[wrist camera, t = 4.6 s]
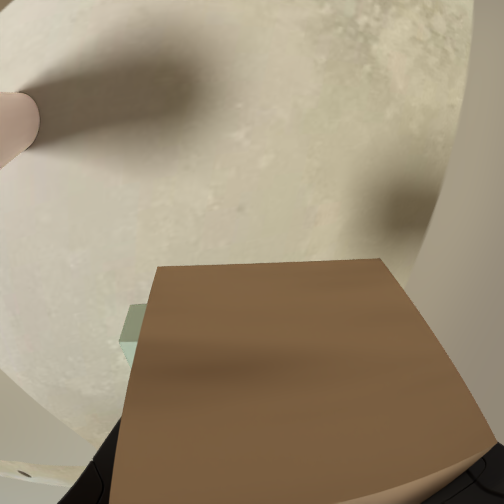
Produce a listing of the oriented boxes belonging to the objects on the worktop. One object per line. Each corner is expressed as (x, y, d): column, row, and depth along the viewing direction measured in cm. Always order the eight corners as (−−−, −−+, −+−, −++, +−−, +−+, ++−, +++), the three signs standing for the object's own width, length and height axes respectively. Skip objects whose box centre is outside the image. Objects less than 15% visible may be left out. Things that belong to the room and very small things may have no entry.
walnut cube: (340, 388, 12) (383, 525, 6) (185, 400, 11) (183, 551, 6) (379, 258, 8) (497, 442, 3) (157, 266, 8) (108, 507, 3)
